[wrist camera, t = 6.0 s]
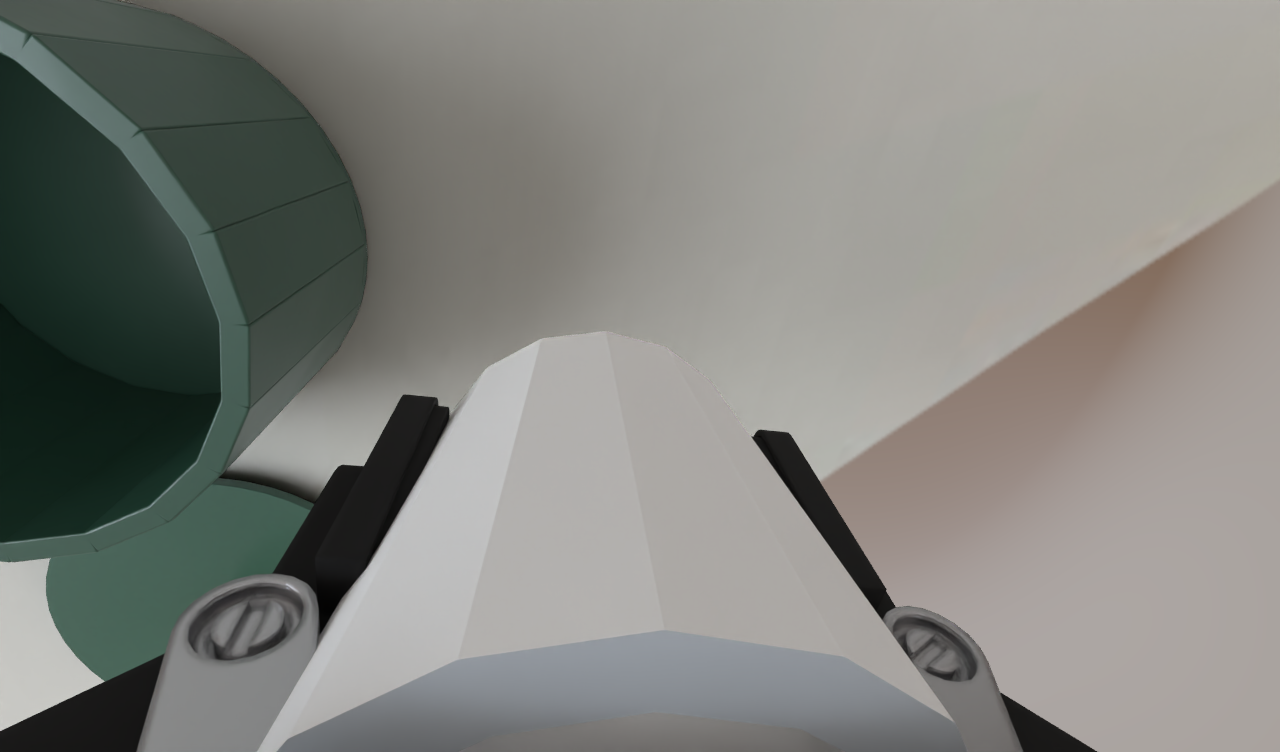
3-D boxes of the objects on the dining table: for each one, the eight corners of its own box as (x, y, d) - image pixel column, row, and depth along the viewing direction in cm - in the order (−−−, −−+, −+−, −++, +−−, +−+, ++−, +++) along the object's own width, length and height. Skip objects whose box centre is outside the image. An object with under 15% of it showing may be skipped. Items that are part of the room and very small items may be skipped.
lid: (30, 654, 30) (-94, 781, 24) (112, 413, 25) (-19, 503, 19) (338, 737, 34) (293, 860, 29) (456, 547, 29) (429, 650, 24)
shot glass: (735, 602, 13) (875, 1053, 7) (414, 600, 13) (256, 1118, 6) (804, 311, 11) (1141, 644, 4) (393, 280, 10) (60, 649, 3)
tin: (-106, 296, 22) (-533, 420, 14) (-32, -110, 18) (-591, -303, 9) (291, 455, 27) (157, 626, 18) (429, 160, 22) (339, 199, 14)
